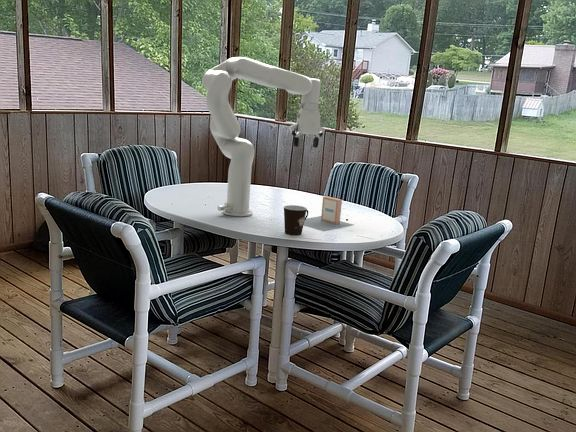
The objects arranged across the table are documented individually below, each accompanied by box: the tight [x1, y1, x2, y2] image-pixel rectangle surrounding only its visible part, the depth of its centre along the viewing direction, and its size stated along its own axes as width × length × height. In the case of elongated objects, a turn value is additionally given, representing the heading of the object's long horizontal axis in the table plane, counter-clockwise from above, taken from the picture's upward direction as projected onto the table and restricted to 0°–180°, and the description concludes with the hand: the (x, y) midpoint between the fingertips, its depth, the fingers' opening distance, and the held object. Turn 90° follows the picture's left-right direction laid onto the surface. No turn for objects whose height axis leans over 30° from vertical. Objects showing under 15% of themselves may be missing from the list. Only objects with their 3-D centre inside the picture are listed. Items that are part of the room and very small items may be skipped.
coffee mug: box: [283, 204, 309, 237], centre depth 210 cm, size 12×9×10 cm
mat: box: [303, 215, 354, 232], centre depth 228 cm, size 20×18×1 cm
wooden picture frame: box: [320, 195, 343, 224], centre depth 231 cm, size 3×8×10 cm, turn 47°
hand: (305, 146), depth 246 cm, fingers open, 9 cm apart
